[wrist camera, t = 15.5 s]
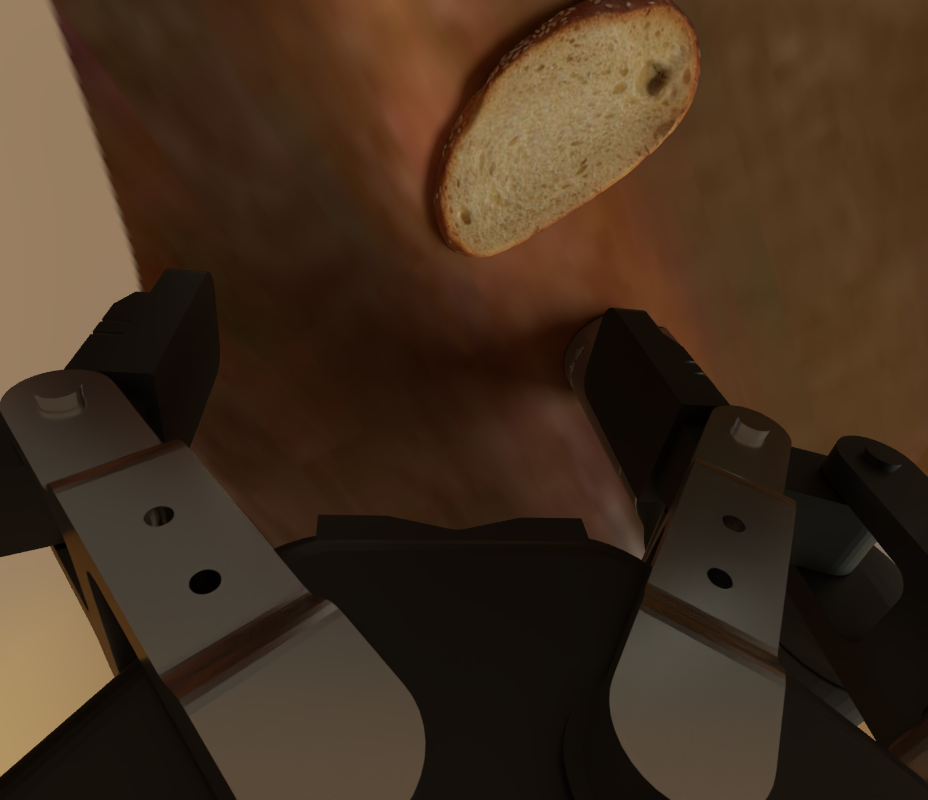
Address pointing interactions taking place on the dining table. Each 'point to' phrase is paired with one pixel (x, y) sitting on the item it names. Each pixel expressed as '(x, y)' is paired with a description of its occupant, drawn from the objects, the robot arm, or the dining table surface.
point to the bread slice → (564, 120)
